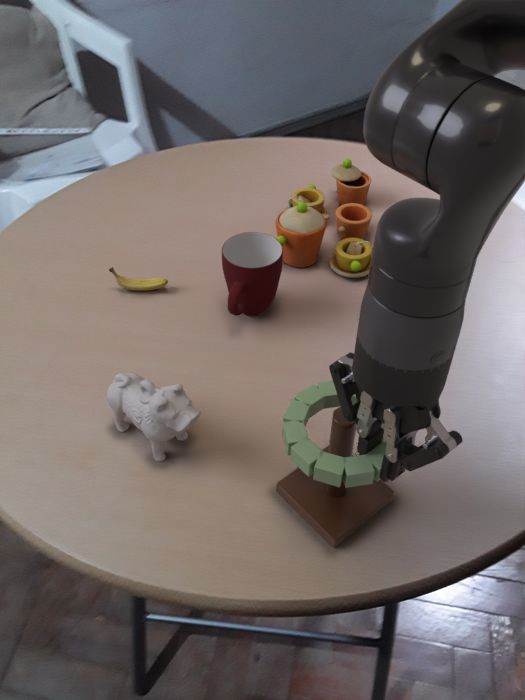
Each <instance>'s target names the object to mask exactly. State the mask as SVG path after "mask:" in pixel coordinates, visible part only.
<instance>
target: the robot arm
mask: <svg viewBox="0 0 525 700" xmlns="http://www.w3.org/2000/svg"><path fill="white" fill-rule="evenodd" d="M510 71H525V0H460V1H458V2H457V3H456V4H454V6H452V8H451V9H449V10H448V11H447V12H446V13H445V14H444V15H442V16H441V17H439V18H438V19H437V20H436V21H435V22H434V23H432V24H431V25H429V27H427V29H425V30H424V31H423V32H421V33H420V34H419V35H418V36H416V37H415V38H414V39H413V40H412V41H411V42H409V43H408V45H406V46H405V47H404V48H403V49H402V50H401V51H400V52H399V53H398V54H397V55H396V56H395V57H394V58H393V59H392V60H391V61H390V62H389V64H388V65H387V66H386V67H385V69H383V71H382V73H381V74H380V75H379V77H378V79H377V81H376V82H375V84H374V86H373V88H372V90H371V92H370V94H369V96H368V99H367V102H366V106H365V110H364V114H363V120H362V121H363V123H362V134H363V138H364V143H365V145H366V148H367V149H368V151H369V153H370V154H371V155H372V157H374V158H375V159H376V160H377V161H379V163H380V164H382V165H384V166H386V167H388V168H390V169H392V170H393V171H395V172H397V173H398V174H400V175H403V176H404V177H406V178H408V179H410V180H412V181H414V182H416V183H418V184H419V185H420V186H423V187H424V188H426V189H428V190H430V191H432V192H433V193H435V194H437V195H438V196H439V199H438V198H431V197H411V198H410V197H409V198H405V199H402V200H398V201H397V202H394V203H393V204H391V205H390V206H388V207H387V209H385V210H384V211H383V213H382V214H381V216H380V218H379V220H378V222H377V225H376V229H375V233H374V239H373V245H372V247H373V250H372V257H371V264H370V270H369V274H368V277H367V278H368V279H367V284H366V287H365V290H364V293H363V295H362V299H361V304H360V310H359V317H358V324H357V330H356V339H355V346H354V352H348V353H347V354H345V355H343V356H341V357H340V358H338V359H336V360H335V361H333V363H331V364H329V366H328V368H329V373H330V376H331V380H333V383H334V386H335V389H336V392H337V395H338V399H339V402H340V405H341V406H340V407H341V408H342V412H343V415H344V417H345V419H346V420H347V421H349V422H352V421H354V422H355V423H356V424H357V428H356V433H357V434H358V440H357V446H356V450H357V453H358V456H359V455H366V454H367V453H369V452H370V451H371V450H373V449H374V448H375V447H377V446H378V445H379V444H381V443H382V439H383V440H384V441H385V442H386V452H385V455H384V456H383V461H382V465H381V472H380V479H381V480H382V481H383V482H384V483H387V482H389V481H390V482H394V481H395V480H396V479H397V478H399V477H400V476H401V475H402V474H403V473H405V471H408V472H413V471H415V470H418V469H421V468H422V467H426V466H428V465H430V464H432V463H435V462H437V461H440V460H443V458H445V457H446V456H447V455H449V454H450V453H451V452H452V451H453V450H455V449H456V448H458V446H460V445H461V444H462V443H463V440H464V439H463V437H462V435H461V433H460V432H458V431H457V430H453V429H452V430H451V431H448V430H447V429H446V427H445V426H444V425H443V423H442V422H441V420H440V417H441V414H442V412H441V411H442V410H441V407H440V397H441V396H442V393H443V391H444V388H445V386H446V383H447V381H448V377H449V373H450V370H451V365H452V362H453V359H454V355H455V351H456V349H457V345H458V341H459V338H460V335H461V331H462V327H463V323H464V318H465V307H466V300H467V296H468V293H469V290H470V285H471V283H472V279H473V276H474V272H475V268H476V265H477V261H478V257H479V255H480V253H481V251H482V249H483V247H484V245H485V244H486V242H487V240H488V239H489V237H490V235H491V233H492V232H493V230H494V228H495V226H496V224H497V223H498V222H499V220H500V218H501V216H502V215H503V213H504V212H505V210H506V209H507V208H508V206H509V205H510V203H511V201H512V200H513V199H514V197H515V196H516V194H517V193H518V192H519V190H520V189H521V187H522V186H523V185H524V183H525V89H524V87H522V86H519V85H517V84H514V83H512V82H510V81H506V80H504V79H501V78H499V77H496V76H497V75H499V74H501V73H504V72H510ZM354 394H355V395H356V398H357V402H356V403H355V404H354V405H353V404H352V401H351V397H352V396H353V395H354ZM383 424H384V429H383V428H381V426H382V425H383ZM424 429H425V430H426V432H427V433H426V435H425V437H424V441H425V442H424V443H422V444H421V445H419V446H417V445H415V443H416V435H417V433H418V432H419V431H421V430H424ZM383 434H384V435H383Z"/></svg>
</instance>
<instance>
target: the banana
mask: <svg viewBox="0 0 525 700" xmlns="http://www.w3.org/2000/svg"><path fill="white" fill-rule="evenodd" d="M108 272H109V273H111V274H112V275H113V276H114V278H115V282H116V284H117V285H118V286H119V287H120V288H123V289H126V290H128V291H129V290H130V291H152V290H158V289H161V288H164V287H165V286H166V285H168V283H169V280H168V279H167V278H166V277H151V278H131V277H127V276H123V275H120V274H118V273H117V272H116V271H115V268H114V267H113V266H112V267H109V268H108Z"/></svg>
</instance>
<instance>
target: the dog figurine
mask: <svg viewBox="0 0 525 700" xmlns="http://www.w3.org/2000/svg"><path fill="white" fill-rule="evenodd" d="M105 395H106V400H107V404H108V405H109V407H110V408H111V412H112V414H113V418H114V423H115V428H116V430H117V431H118V432H121V433H124V432H125V431H127V430H129V428H130V425H129V423H127V422H126V421H125V420H124V419H125V418H124V417H125V416H126V417H127V418H128V419H129V420H130V421H131V422H133V425H134V427H136V428H137V429H138V430H140V431H142V433H143V435H144V436H145V438H146V439H148V440H149V443H150V445H151V451H152V456H153V459H154V460H155V461H156V462H163V461H165V460H166V457H167V456H166V454H165V452H164V451H165V446H166V442H167V441H169V440H171V439H173V438H176V439H177V440H178V441H181V442H185V441H186V440H187V439H188V438H189V435H188V433H187V430H188V429H190V428H191V427H192V426H193V425H194V424H195V423H196V421H197V420H198V419H199V418H200V416H201V414H202V411H201V410H199V409H197V408H196V407H195V406H194V405H193V401H192V400H191V399H190V398H189V396H188V395H187V393H186V391H185V390H184V386H183V384H182V383H175V384H170V385H165V386H162V387H158V386H157V385H155V384H154V383H153V382H152V381H151V380H150V379H145V377H143V376H141V375H140V374H138V373H135V372H130V373H129V372H128V373H123V372H118V373H117V374H115V375H114V378H113V381H112V383H111V384H109V386H108V388H107V391H106V394H105Z"/></svg>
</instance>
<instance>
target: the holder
mask: <svg viewBox="0 0 525 700" xmlns="http://www.w3.org/2000/svg"><path fill="white" fill-rule="evenodd" d="M356 428H357V424H356V423H355V422H354V421H352V422H349V421H347V420H346V419H345V417H344V415H343V412H342V408H341V406H340V407H336V409H334V411H333V413H332V418H331V427H330V434H329V443H328V446H326V447H325V448H323V449H321V450H322V451H323V452H327V453H330V454H334V455H337V456H341V457H344V458H345V457H352V456H354V455H353V451H354V447H355V441H356V433H357V430H356ZM313 476H314V473H313V474H312V475H310V476H309V477H308V476H307V475H306V474H305V473H304V472H303V471H302V470H301V469H300V468H299V467H298V466H297V468H296V469H294V470H292V471H291V472H290V473H289V474H288V475H285V477H283V478H282V479H280V480H279V481H277V482H276V483H275V484H276V485H275V492H277V494H278V495H280V497H281V498H282V499H284V500H285V502H287V504H289V505H290V506H291V507H292V508H293V509H294V510H295V511H296V512H297V514H298V515H300V516H301V517H302V518H303V519H304V521H306V523H308V524H309V525H310V527H312V528H313V529H314V530H315V531H316V532H317V533H318V534H319V535H320V536H321V537H322V538H323V539H324V541H326V542H327V543H328V544H329V545H330V546H331V547H332V548H334V549H335V548H336V547H337V546H338V545H339V544H341V543H342V542H343V541H344V540H346V539H347V538H348V537H349V536H351V535H352V534H353V533H354V532H355V531H356V530H358V529H359V528H360V527H362V526H363V525H364V524H366V522H368V521H369V520H370V519H371V518H372V517H374V516H375V515H376V514H377V513H379V512H380V511H381V510H382V509H384V508H385V507H386V506H387V505H388V504H389V503H391V502H392V501H393V500H394V498H395V494H396V492H395V490H393V489H392V488H391V487H390V486H389V485H388V484H387V483H386V482H384V481H383V480H382V479H380V480H379V481H378V482H377V481H376V480H375V479H373V483H372V484H368V485H361V486H355V487H348V488H345V485H344V481H343V480H342V483H341V486H340V487H337V486H333V485H330V484H327V483H323V482H320V481H316V480H313Z"/></svg>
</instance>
